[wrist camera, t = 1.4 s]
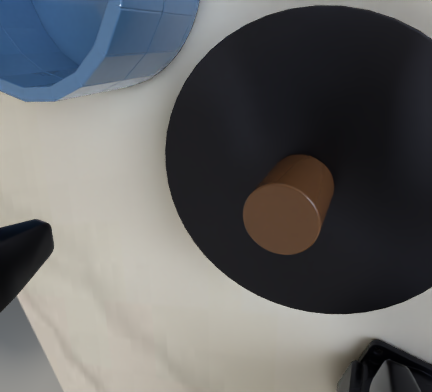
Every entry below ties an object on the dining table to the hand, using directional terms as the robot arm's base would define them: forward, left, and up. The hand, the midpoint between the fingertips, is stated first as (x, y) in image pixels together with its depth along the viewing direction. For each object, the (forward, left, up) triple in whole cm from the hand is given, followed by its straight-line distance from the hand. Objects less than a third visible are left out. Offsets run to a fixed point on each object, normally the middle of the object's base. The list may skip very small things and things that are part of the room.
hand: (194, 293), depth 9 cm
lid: (-1, 0, -9) cm, 9 cm away
